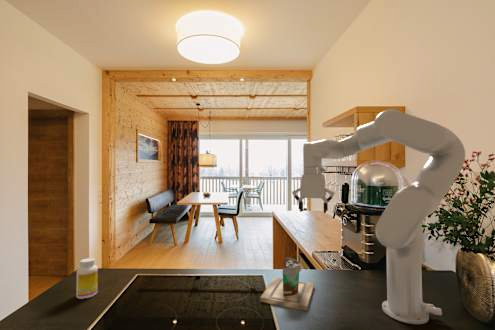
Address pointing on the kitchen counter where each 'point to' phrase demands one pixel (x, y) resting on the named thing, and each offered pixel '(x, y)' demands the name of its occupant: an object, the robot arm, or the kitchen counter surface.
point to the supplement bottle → (87, 279)
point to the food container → (291, 277)
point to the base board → (294, 301)
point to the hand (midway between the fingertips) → (313, 211)
